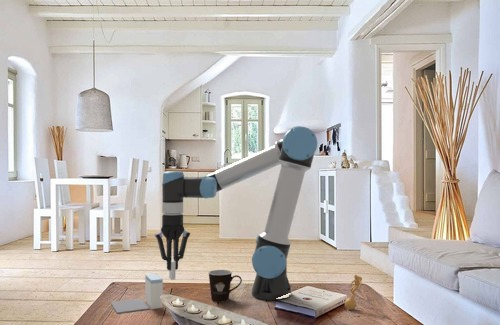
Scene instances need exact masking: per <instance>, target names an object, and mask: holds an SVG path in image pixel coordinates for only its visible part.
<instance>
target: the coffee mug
mask: <svg viewBox="0 0 500 325" xmlns="http://www.w3.org/2000/svg"><path fill="white" fill-rule="evenodd" d="M232 274H233V271H232V270H228V269H214V270H210V271H208V279H209V280H208V281H209V289H210V296H211V297H210V298H211V299H210V300H211V301H213V302H215V301H216V302H217V303H223V302H222V301H224V302H228V301H230V300H229V299H230V293H231V292H233V291H234V290H236V289H238V287H240V286H241V284H242V283H243V282H242V280H243V279H242V277H241V276H240V275H233V276H232ZM235 278H239V280H240V282H239V283H238V284H237V285H236V286H234V287H233V288H231V282H232V281H233V279H235Z"/></svg>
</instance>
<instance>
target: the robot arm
mask: <svg viewBox="0 0 500 325" xmlns="http://www.w3.org/2000/svg"><path fill="white" fill-rule="evenodd" d="M317 148H318V138H317V136H316V134H315V132H314V131H313V130H312V129H310V128H308V127H306V126H299V125H298V126H294V127H292V128H290V129H288V130H287V131H286V133H285V134H284V135H283V138H281V139H278V140H277V141H275V142H274V144H273V145H271V146H270V147H268V148H265V149H263V150H260V151H258V152H256V153H253V154H252V155H249V156H247V157H245V158H242V159H240V160H239V161H235V162H233V163H232V164H229V165H227V166H225V167H223V168H220V169H218V170H215V171H214V172H211V173H209V174H207V175H204V176H190V177H189V176H185V175H184V172H183V171H175V170H174V171H172V170H171V171H165V172H163V174H162V183H161V186H162V191H161V192H162V203H161V204H162V207H161V208H162V210H161V212H162V213H163V214H162V216H161V223H162V224H161V227H160V228H161V229H160V231H159V232H157V233H154V237H155V238H156V240H157V243H158V249H159V252H160V257H161V259H162V260H163V261H166V269H167V271H169V274H168V275H169V276H168V278H169V279H170V280H171V281H172V280H173V281H174V280H176V270H178V269H179V261H180V260H182V259H184V256H185V252H186V246H187V243H188V239H189V237H190V236H191V232H189V231H187V230H186V229H185V227H184V215H183V213H184V198H187V199H188V198H191V199H192V198H195V199H214V198H215V197H216V195H217V193H218V192H220V191H222V190H225V189H227V188H229V187H231V186H234V185H236V184H237V183H238V184H239V183H241V182H242V181H246V180H247V179H250V178H252V177H254V176H256V175H258V174H261V173H263V172H265V171H268V170H270V169H272V168H274V167H277V166H280V171H279V174H278V178H277V181H276V186H275V190H274V193H273V197H272V201H271V205H270V209H269V213H268V217H267V220H266V225H265V228H264V231H262V232H261V233H259V235H257V236H256V240H255V244H256V246H255V250H254V252H253V254H252V257H251V264H252V267H253V270H254V271H255V273H256V275H255V279H254V281H253V283H252V284H253V285H252V288H251V296H252V297H253V298H256V299H258V300H259V299H260V300H265V301H276V300H275V299H276V298H278V297H281V296H283V295H286V294H288V293H291V294H292V287H291V284H290V282H289V278H288V273H287V272H288V271H287V269H288V268H287V266H288V265H287V264H288V263H287V261H288V260H287V259H288V257H289V256H288V255H289V252H290V249H291V244H292V242H291V241H290V239H289V234H290V231H291V227H292V222H293V219H294V217H295V216H294V215H295V212H296V207H297V204H298V202H299V201H298V200H299V197H300V193H301V189H302V184H303V182H304V177H305V173H306V172H307V171H309V170H311V168H312V164H313V160H314V157H315V153H316V151H317ZM181 236H182V239H181V243H179V242H180V237H181ZM163 237H164V238H165V239H166V249H165V245H164V241H163ZM179 244H180V247H179ZM172 245H173V246H172ZM172 249H173V252H172ZM172 254H173V255H172ZM172 256H173V258H172Z"/></svg>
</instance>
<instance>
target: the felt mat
mask: <svg viewBox="0 0 500 325" xmlns="http://www.w3.org/2000/svg"><path fill="white" fill-rule="evenodd" d="M110 305H111V306H112V308H113V310H114V311H115V313H116V314H125V313H133V312H140V311H147V310H151V308H150V307H149V306H148V305H147V304H146V302H145V300H143V299H142V298H134V299H125V300H117V301H110Z"/></svg>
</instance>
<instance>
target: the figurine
mask: <svg viewBox="0 0 500 325" xmlns="http://www.w3.org/2000/svg"><path fill="white" fill-rule="evenodd" d="M353 277H354V279H353V280H352V282H351V283H350V285H349V286H352V287H351V288H350V289H349V291H350V293H351V296H349V297H347V298H346V299H345V301H344V307H345V309H348V310H349V311H353V310H354V309H356V307H357V302H356V300H355V297H356V292H360V289H361V287H362V281H363V278H362V276H359V275H357V274H355V275H354V276H353ZM353 284H354V285H353Z"/></svg>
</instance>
